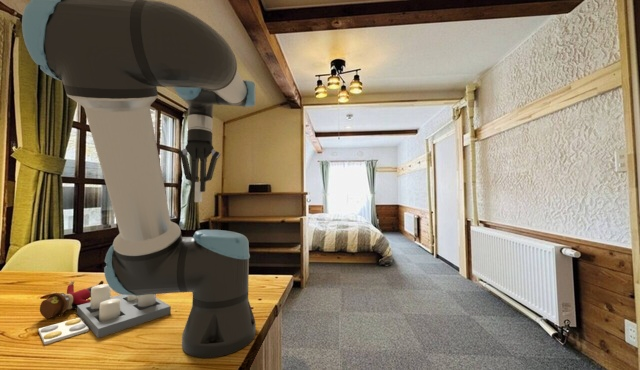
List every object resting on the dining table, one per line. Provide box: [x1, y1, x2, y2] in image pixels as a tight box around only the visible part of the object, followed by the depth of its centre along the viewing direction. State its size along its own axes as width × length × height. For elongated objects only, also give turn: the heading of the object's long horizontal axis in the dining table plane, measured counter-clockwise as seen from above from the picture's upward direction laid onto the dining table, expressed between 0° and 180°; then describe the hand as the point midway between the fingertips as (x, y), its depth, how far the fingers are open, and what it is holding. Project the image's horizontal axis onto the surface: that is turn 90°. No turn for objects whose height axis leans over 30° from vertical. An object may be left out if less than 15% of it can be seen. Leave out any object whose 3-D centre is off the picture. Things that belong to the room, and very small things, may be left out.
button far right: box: [127, 295, 138, 302], centre depth 75 cm, size 4×4×5 cm
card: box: [38, 317, 90, 346], centre depth 60 cm, size 9×7×1 cm
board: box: [76, 294, 172, 339], centre depth 69 cm, size 20×15×2 cm
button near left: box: [99, 299, 121, 322], centre depth 63 cm, size 4×4×5 cm
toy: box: [39, 280, 105, 319], centre depth 72 cm, size 11×7×15 cm
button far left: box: [90, 283, 112, 309], centre depth 68 cm, size 4×4×5 cm
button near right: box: [138, 294, 157, 307], centre depth 70 cm, size 4×4×5 cm
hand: (198, 201), depth 85 cm, fingers closed
